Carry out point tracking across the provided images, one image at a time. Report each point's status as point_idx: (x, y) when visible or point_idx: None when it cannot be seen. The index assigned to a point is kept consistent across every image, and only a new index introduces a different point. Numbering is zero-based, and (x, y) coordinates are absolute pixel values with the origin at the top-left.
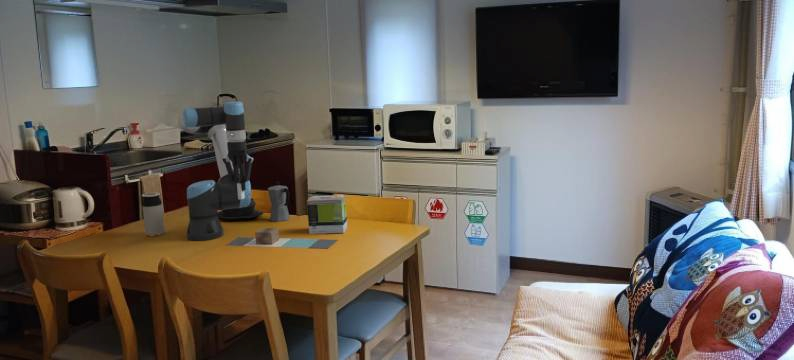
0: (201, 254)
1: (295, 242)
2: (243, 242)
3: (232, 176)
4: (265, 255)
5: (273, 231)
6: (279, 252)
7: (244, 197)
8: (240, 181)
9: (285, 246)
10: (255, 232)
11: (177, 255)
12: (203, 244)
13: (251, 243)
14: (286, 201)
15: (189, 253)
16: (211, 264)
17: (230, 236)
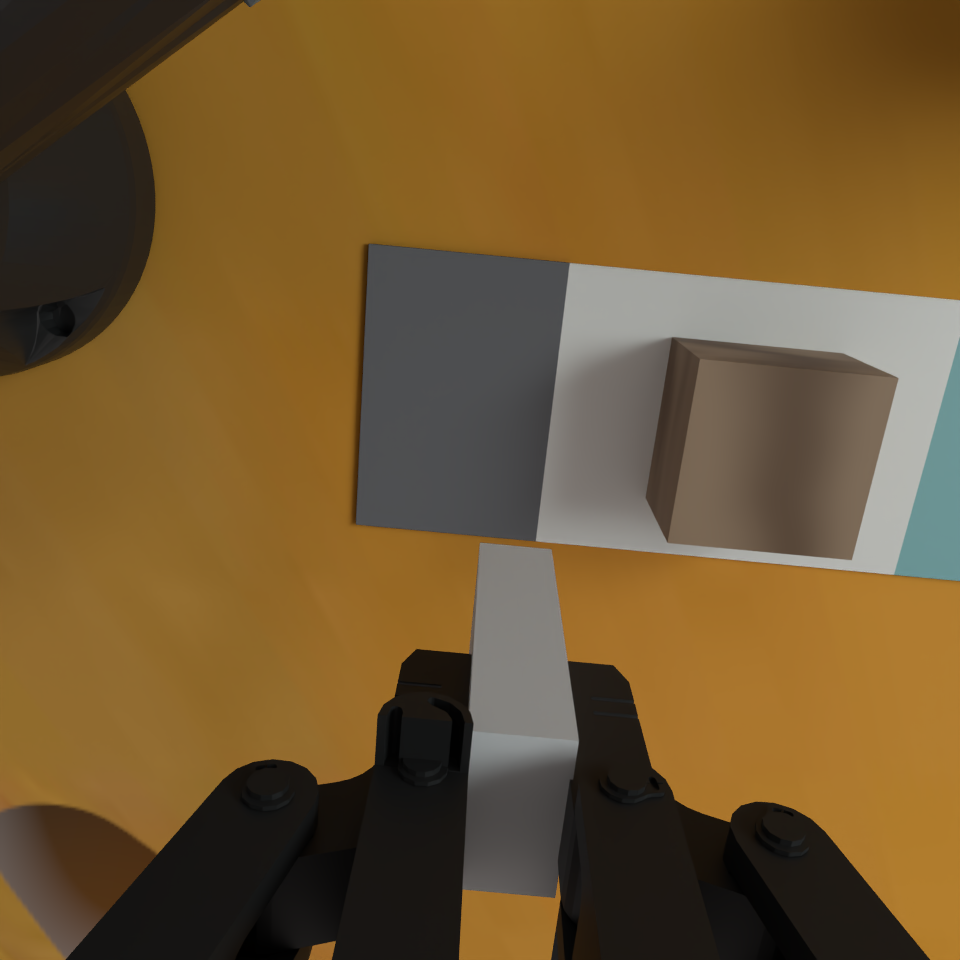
0: (277, 748)
1: None
2: (501, 441)
3: (198, 892)
4: (810, 773)
5: (864, 503)
6: (911, 705)
7: (550, 560)
8: (565, 937)
9: (943, 566)
10: (671, 541)
11: (97, 769)
12: (130, 483)
13: (592, 474)
14: None
15: (162, 724)
16: (471, 943)
17: (256, 192)
